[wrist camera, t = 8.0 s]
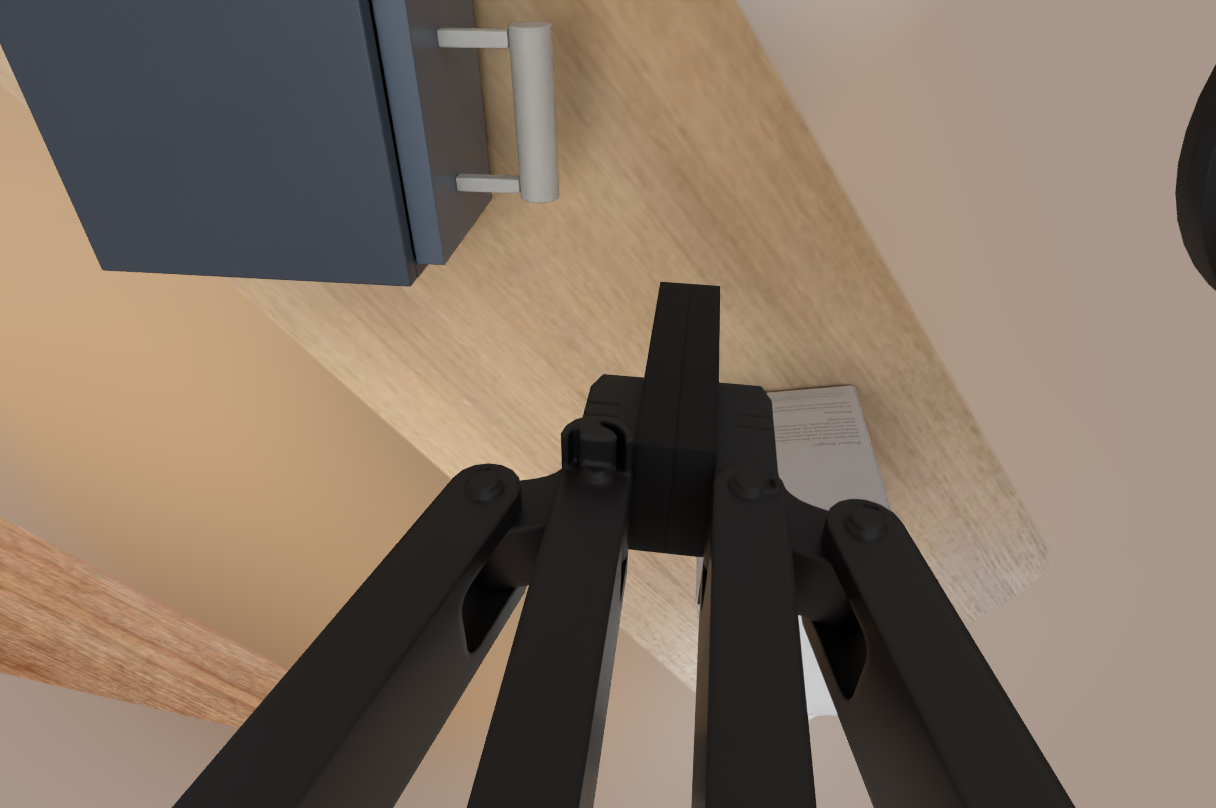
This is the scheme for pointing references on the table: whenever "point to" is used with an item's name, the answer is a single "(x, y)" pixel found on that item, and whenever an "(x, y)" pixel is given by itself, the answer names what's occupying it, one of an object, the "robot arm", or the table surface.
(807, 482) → the rectangular carton
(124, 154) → the cabinet
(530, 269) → the table surface
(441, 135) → the drawer
